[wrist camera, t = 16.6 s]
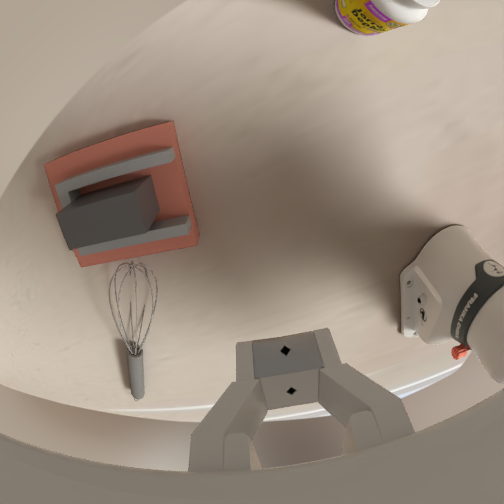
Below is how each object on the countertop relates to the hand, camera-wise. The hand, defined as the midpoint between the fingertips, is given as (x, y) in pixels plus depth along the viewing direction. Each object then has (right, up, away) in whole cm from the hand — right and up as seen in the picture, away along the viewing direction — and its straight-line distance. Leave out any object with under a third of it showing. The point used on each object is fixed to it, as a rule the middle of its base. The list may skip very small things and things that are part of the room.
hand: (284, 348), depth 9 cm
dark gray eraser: (-16, +9, +20) cm, 27 cm away
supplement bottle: (+11, +31, +14) cm, 36 cm away
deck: (-16, +10, +23) cm, 30 cm away
